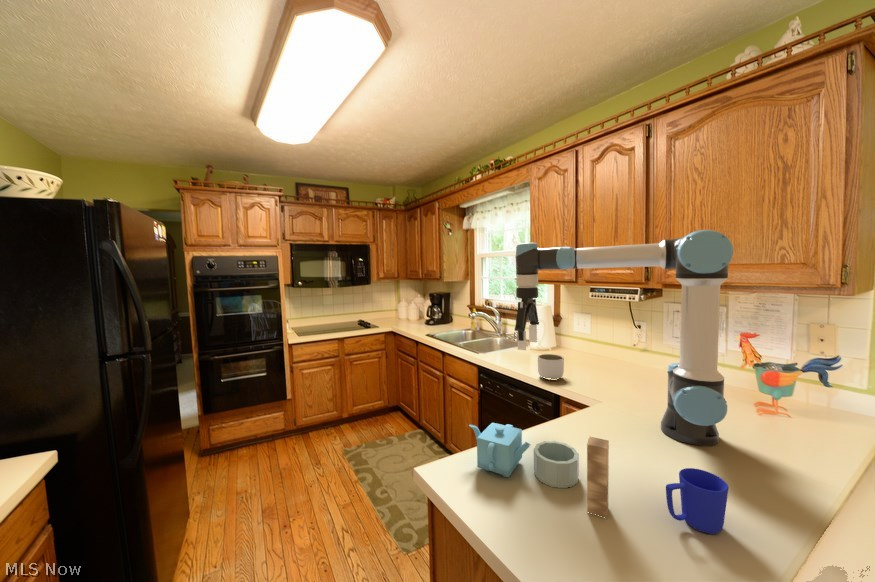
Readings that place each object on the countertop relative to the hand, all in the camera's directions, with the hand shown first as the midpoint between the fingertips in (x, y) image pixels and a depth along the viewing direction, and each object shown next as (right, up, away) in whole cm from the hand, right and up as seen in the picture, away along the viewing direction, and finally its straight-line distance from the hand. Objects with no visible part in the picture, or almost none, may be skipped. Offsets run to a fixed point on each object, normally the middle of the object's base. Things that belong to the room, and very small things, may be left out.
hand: (527, 345), depth 121 cm
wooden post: (+4, -30, -44) cm, 54 cm away
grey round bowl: (-1, -30, -31) cm, 43 cm away
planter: (+25, -25, +48) cm, 59 cm away
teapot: (-15, -30, -26) cm, 42 cm away
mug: (+22, -30, -49) cm, 62 cm away
